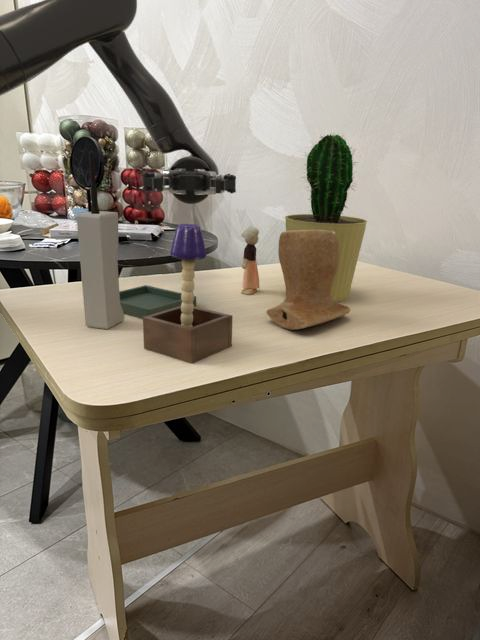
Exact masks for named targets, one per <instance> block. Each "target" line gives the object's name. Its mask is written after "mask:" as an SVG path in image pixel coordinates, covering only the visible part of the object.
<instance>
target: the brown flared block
mask: <svg viewBox="0 0 480 640" xmlns="http://www.w3.org/2000/svg"><path fill="white" fill-rule="evenodd" d="M277 253H278V261H279V264H280V268H281V272H282V276H283V281H284V286H285V299H284V300H283V301H282V302H281V303H280V304H278V305H277V306H274V307H271V308H269V309H267V310H266V315H267V316H268V318H270V319H271V320H272V321H273V322H274V323H275V324H277V325H278V326H280V328H282V329H283V328H284V329H286V330H290V331H292V330H293V331H294V330H295V331H296V330H301V329H306V328H310V327H313V326H316V325H320V324H324V323H327V322H329V321H332V320H335V319H339V318H340V317H343V316H345V315H347V314H350V312H351V309H352V308H350V307H349V306H347V305H344V304H342V303H339V302H335V301H333V300H332V296H331V290H332V285H333V281H334V278H335V275H336V272H337V268H338V262H339V241H338V237H337V234H336V233H335V232H334V231H326V230H293V231H286V230H285V231H282V232H281V233H280V234H279V238H278V251H277Z"/></svg>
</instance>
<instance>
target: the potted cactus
mask: <svg viewBox="0 0 480 640" xmlns="http://www.w3.org/2000/svg"><path fill="white" fill-rule="evenodd" d="M318 140H319V139H318ZM310 142H311V144H312V145H311V146H312V147H311V149H310V150H309V152H308V153H307V152H306V151H303V152H304V156H306V163H304V164H302V165H303V166H305V167H304V170H305V171H306V172H305V171H303V172H302V173H303V174H305V173H306V178H305V176H302V179H303V178H304V179H303V180H305V181H304V183H305V182H307V183H308V185H309V186H306V189H308V188H309V187H310V193H308V194H307V196H308V195H309V198H308V201H309V202H310V208H311V211H309V213H299V214H288V215H285V216H284V219H285V231H293V230H326V231H334V232H335V233H336V234H337V237H338V241H339V262H338V268H337V272H336V275H335V278H334V281H333V285H332V290H331V296H332V300H333V301H335V302H337V303H339V302H343V301H346V300H347V299H348V298H349V295H350V292H351V289H352V284H353V281H354V280H353V279H354V276H355V271H356V268H357V265H358V260H359V256H360V252H361V249H362V244H363V239H364V237H365V232H366V227H367V223H368V221H367V219H363V218H360V217H355V216H354V217H353V216H346V215H344V213H343V211H344V208H346V209H348V210H349V207H348V206H347V205H346V204H348V201H347V200H348V195H350V194H348V191H349V190H350V189H353V191H354V192H356V190H355V189H354V188H356V186H355V185H356V183H355V182H354V177H353V176H354V172H353V169H354V167H355V166H356V164H359V162H357V161H353V156H354V154H355V152H353V151H356V148H354V149H353V147H350V145H348V144H347V140H346V138H344V134H342V136H341V135H340V133H338V134H333V133H332V132H330V134H327V135H325V134H323V135H320V140H319V141H316V144H314V143H313V141H312V140H310ZM351 150H352V151H351ZM356 172H358V171H355V173H356ZM353 187H354V188H353ZM306 191H307V192H309V189H308V190H306Z"/></svg>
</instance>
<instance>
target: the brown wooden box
mask: <svg viewBox="0 0 480 640" xmlns="http://www.w3.org/2000/svg"><path fill="white" fill-rule="evenodd" d="M181 314H182V311H181V306H179V307H175V308H172V309H169V310H165V311H162V312H159V313H155V314H152V315H149V316H145V317H143V318H142V332H143V349H145V350H147V351H151V352H154V353H157V354H161V355H164V356H167V357H170V358H173V359H177V360H179V361H183V362H186V363H189V364H193V363H196V362H198V361H200V360H202V359H205V358H208V357H209V356H211V355H214V354H217V353H218V352H220V351H222V350H226V349H227V348H229V347H232V346H233V315H232V314H229V313H224V312H220V311H216V310H211V309H207V308H203V307H199V306H194V310H193V312H192V314H193V322H192V326H193V327H187V326H183V325H181V324H182V323H181Z"/></svg>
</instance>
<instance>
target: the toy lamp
mask: <svg viewBox="0 0 480 640" xmlns="http://www.w3.org/2000/svg"><path fill="white" fill-rule="evenodd" d="M204 240H205V239H204V236H203V232H202V227H201V226H200V225H198V224H195V223H194V224H192V223H179V224H178V225H177V226H176V229H175V233H174V236H173V240H172V244H171V248H170V253H169V254H170V256H171V257H172V258H174V259H178V260H181V267H182V269H181V278H182V281H181V290H182V291H181V293H182V294H181V299H182V304H181V311H182V314H181V323H182V324H181V325H183V326H187V327H193V326H192V322H193V314H192V312H193V310H194V305H193V300H194V296H195V292H194V289H195V281H194V279H195V276H196V274H195V273H196V271H195V265H196V261H198V260H203V259H206V258H207V250H206V245H205V241H204Z"/></svg>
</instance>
